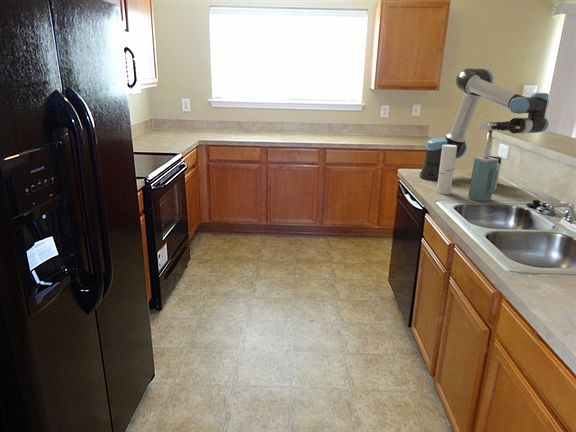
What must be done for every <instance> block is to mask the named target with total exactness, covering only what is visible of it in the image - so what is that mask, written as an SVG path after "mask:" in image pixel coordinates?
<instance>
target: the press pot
mask: <svg viewBox="0 0 576 432" xmlns="http://www.w3.org/2000/svg"><path fill="white" fill-rule="evenodd" d="M498 161H499V159H495V158H491V157H488V159H484V156H474V157H473V165H472V172H471V179H470V184H469V190H468V197H467V198H468V199H469V200H470V201H474V202H480V203H481V202H482V203H489V202H491V201H492V200H491V199H492V195H493V194H494V193H495V191H494V190H495V185H496V179H497V174H498V170H496V169H497V163H498Z"/></svg>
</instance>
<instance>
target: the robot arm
mask: <svg viewBox="0 0 576 432" xmlns="http://www.w3.org/2000/svg"><path fill="white" fill-rule="evenodd" d="M492 74H493V73H492V72H491V71H490V70H488V69H487V68H486V69H485V68H465V69H462V70H461V71H460V72H459V73H457V75H456V78H455V84H456V86H457V88H458V89H459V90H461V91H462V93H463V96H462V100H461V101H460V105H459V108H458V111H457V113H456V116H455V119H454V122H453V124H452V126H451V129H450V131H449V133H447V134H446V135H445V138H444V137H435V138H434V137H433V138H430V139H428V140H427V141H426V146H425V151H424V152H425V153H424V161H423V162H424V164H423V165H422V168H421V170H420V173H419V178H420V179H423V180H428V181H438V176H439V169H440V161H441V153H442V145H455V146H457V151H456V158H455V160H456V159H459V158H461V157H463V156H464V155H465V153H466V151H467V143H466V142H467V139H466V137H465V136H466V133H467V132H468V129H469V126H470V124H471V121H472V119H473V116H474V113H475V110H476V109H477V105H478V104H479V101H480V98H485V99H487V100H489V101H492V102H494V103H496V104H498V105H501V106H503V107H505V108H507V109H509V111H510V112H511V113H512V114H517V115H520V114H527V117H513V118H512V119H510V120H509V121H497V122H495V121H493V122H491V121H490V122H488V121H487V122H479V123H478V126H477V129H478V130H483V131H488V130H493V131H497V130H498V131H502V132H503V131H509V132H510V133H511V134H522V135H524V134H532V133H533V134H534V133H535V134H537V133H538V134H539V133H543V132H545V131H546V130H547V129H548V128H549V125H550V124H549V120H548V119H547V118H546V113H547V108H548V105H549V97H550V96H549V93H548V92H533V93H532V94H531V96H523V95H521V94H518V93H516V92H514V91H511V90H509V89H507V88H504V87H501V86H499V85H496V84H494V76H493V75H492ZM487 123H496V124H487Z"/></svg>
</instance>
